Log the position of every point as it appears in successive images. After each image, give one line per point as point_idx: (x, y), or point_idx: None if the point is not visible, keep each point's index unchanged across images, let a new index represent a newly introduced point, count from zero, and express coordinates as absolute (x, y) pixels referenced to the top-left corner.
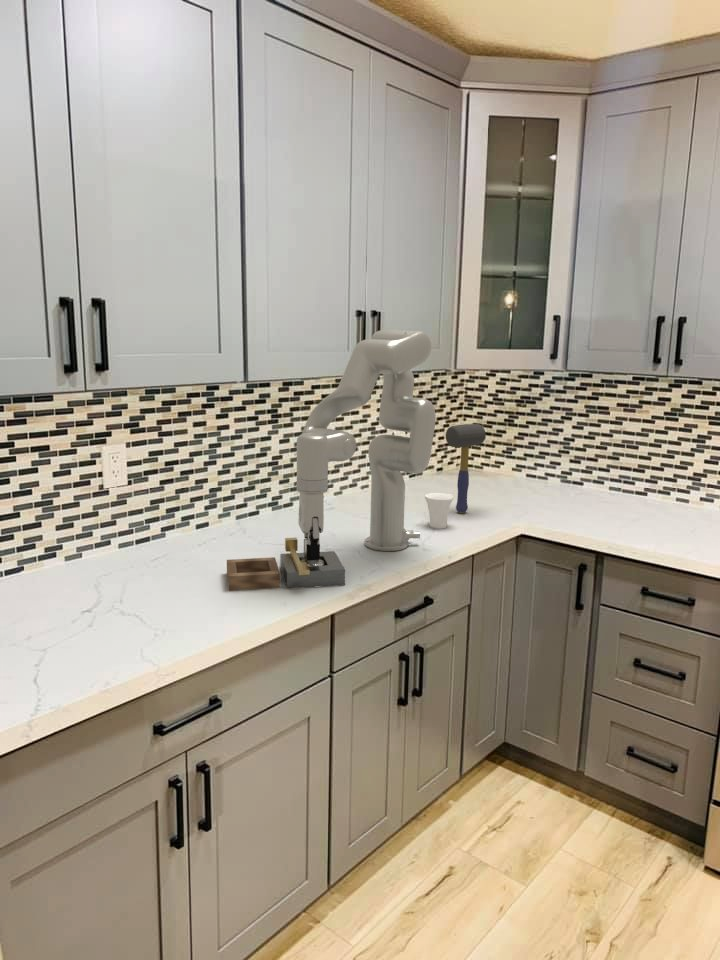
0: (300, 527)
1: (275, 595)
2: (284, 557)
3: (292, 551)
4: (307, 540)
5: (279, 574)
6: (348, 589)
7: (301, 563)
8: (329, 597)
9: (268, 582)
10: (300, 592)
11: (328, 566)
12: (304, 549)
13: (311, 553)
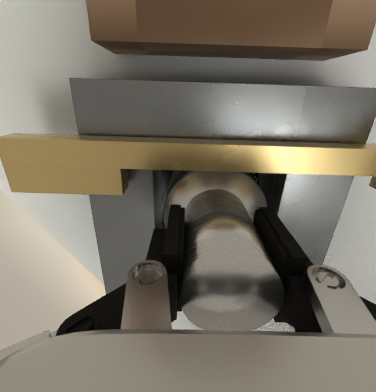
0: (291, 352)
1: (25, 15)
2: (313, 103)
3: (317, 154)
4: (233, 276)
5: (93, 36)
6: (90, 265)
7: (105, 169)
8: (25, 209)
9: None
10: (64, 128)
11: None
12: (228, 220)
13: (151, 243)
